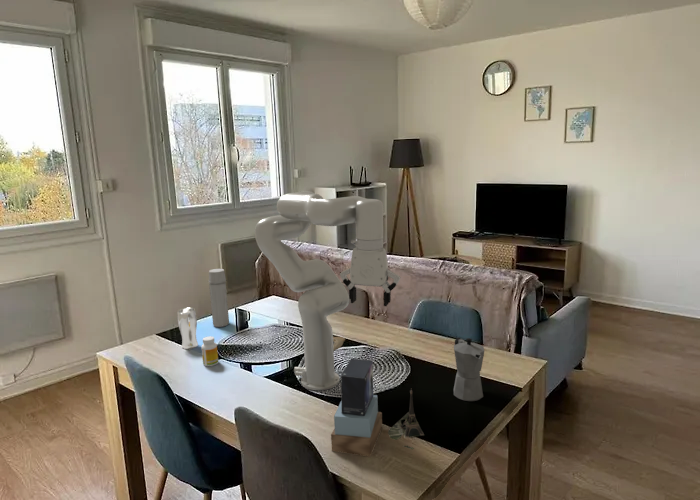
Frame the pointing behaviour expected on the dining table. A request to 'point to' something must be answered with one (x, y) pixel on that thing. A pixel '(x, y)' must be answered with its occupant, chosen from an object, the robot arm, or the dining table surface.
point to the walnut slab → (357, 441)
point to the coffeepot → (468, 370)
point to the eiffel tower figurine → (411, 425)
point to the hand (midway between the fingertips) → (369, 303)
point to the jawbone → (337, 342)
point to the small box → (357, 387)
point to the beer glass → (188, 327)
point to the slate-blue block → (356, 421)
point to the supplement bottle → (209, 351)
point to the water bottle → (218, 297)
